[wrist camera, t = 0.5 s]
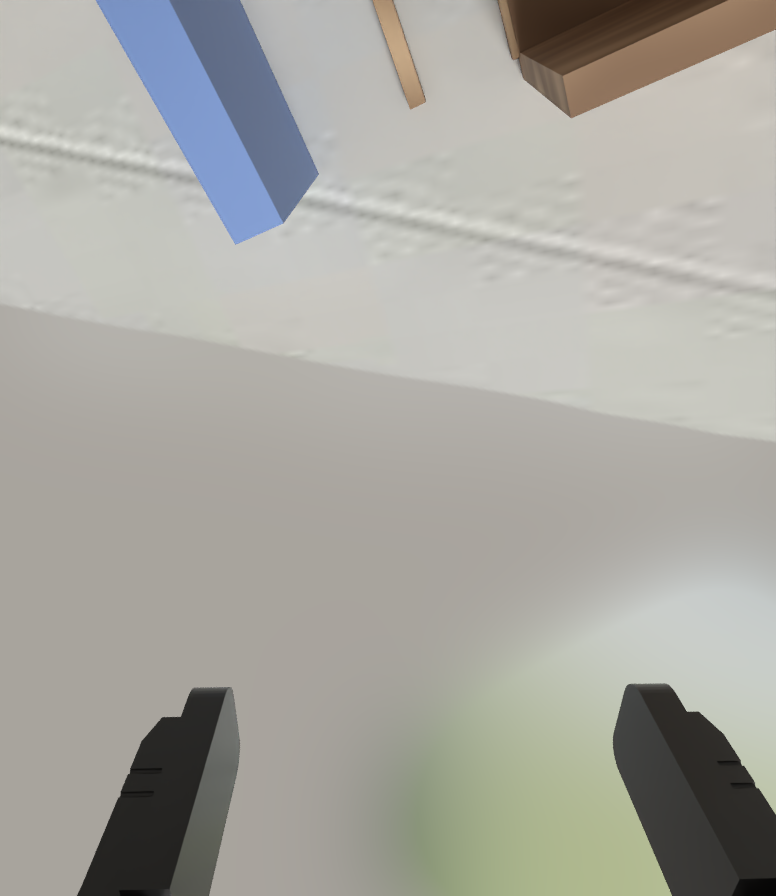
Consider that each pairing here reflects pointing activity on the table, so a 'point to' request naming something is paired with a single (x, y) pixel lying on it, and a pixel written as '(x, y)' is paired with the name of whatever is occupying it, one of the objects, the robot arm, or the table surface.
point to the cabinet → (602, 43)
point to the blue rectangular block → (219, 105)
